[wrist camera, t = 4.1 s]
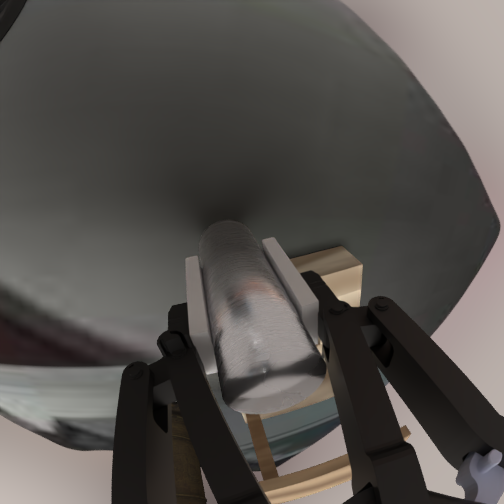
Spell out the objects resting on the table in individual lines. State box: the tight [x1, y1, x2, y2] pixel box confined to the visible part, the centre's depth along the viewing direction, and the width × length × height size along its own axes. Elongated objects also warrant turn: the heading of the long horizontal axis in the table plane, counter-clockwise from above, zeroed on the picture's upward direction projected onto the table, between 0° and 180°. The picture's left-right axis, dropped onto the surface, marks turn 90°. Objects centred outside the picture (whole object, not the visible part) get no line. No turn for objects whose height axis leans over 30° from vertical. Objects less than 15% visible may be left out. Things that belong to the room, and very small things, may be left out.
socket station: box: [242, 246, 411, 504], centre depth 24 cm, size 20×15×16 cm
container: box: [171, 403, 207, 504], centre depth 26 cm, size 9×9×18 cm
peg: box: [199, 220, 327, 414], centre depth 15 cm, size 4×4×12 cm
